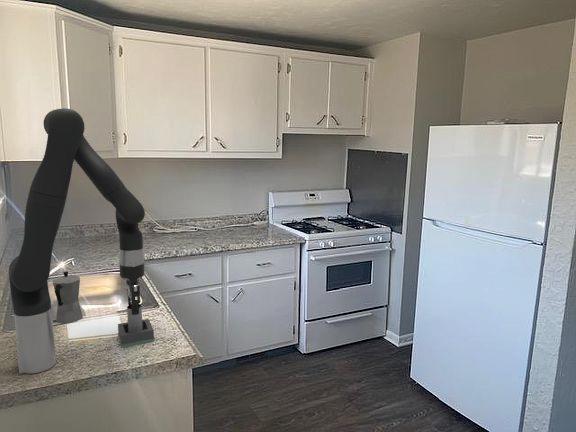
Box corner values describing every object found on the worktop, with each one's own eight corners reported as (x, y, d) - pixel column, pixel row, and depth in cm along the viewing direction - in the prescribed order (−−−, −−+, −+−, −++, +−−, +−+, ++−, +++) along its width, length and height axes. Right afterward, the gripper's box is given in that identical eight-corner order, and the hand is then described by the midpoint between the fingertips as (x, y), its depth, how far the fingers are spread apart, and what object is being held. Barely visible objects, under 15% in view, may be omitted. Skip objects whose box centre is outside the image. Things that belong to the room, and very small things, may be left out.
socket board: (121, 347, 137) (121, 336, 136) (118, 335, 146) (117, 323, 145) (154, 341, 141) (153, 330, 141) (148, 329, 150) (148, 318, 149)
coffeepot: (63, 311, 164) (59, 266, 161) (89, 310, 165) (85, 265, 162) (45, 329, 149) (40, 279, 146) (73, 328, 150) (69, 279, 147)
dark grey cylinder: (126, 335, 143) (124, 306, 141) (139, 331, 146) (137, 302, 145) (132, 339, 140) (130, 310, 138) (145, 335, 143) (143, 306, 141)
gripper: (117, 257, 143) (119, 303, 146) (122, 269, 131) (124, 319, 134) (140, 255, 147) (142, 300, 149) (147, 266, 134) (149, 315, 137)
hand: (133, 309), depth 141 cm, fingers open, 8 cm apart
